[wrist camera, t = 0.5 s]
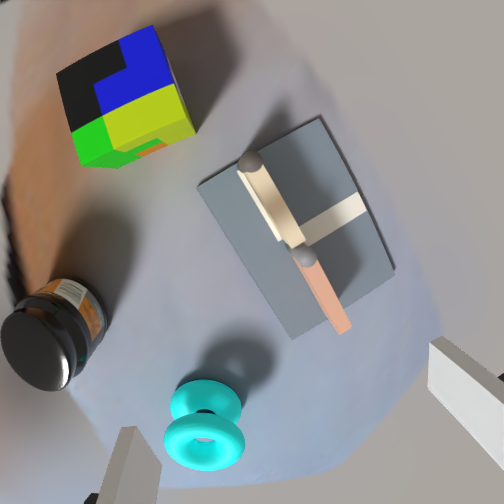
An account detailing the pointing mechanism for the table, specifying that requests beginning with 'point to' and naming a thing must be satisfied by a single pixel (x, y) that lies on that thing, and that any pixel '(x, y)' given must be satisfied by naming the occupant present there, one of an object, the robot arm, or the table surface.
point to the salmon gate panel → (320, 286)
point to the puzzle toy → (123, 101)
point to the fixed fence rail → (270, 198)
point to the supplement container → (54, 333)
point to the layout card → (301, 227)
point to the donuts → (205, 426)
